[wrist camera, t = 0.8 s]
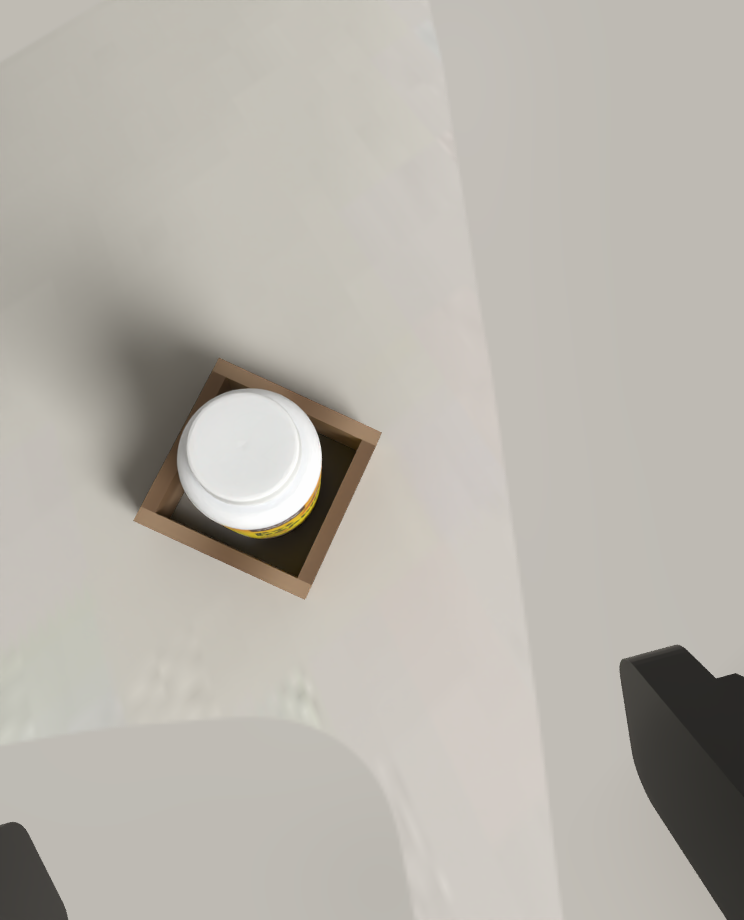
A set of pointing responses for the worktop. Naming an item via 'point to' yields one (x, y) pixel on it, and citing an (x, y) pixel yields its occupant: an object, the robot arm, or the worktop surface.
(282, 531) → the supplement bottle
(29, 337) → the worktop surface
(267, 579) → the wooden box
